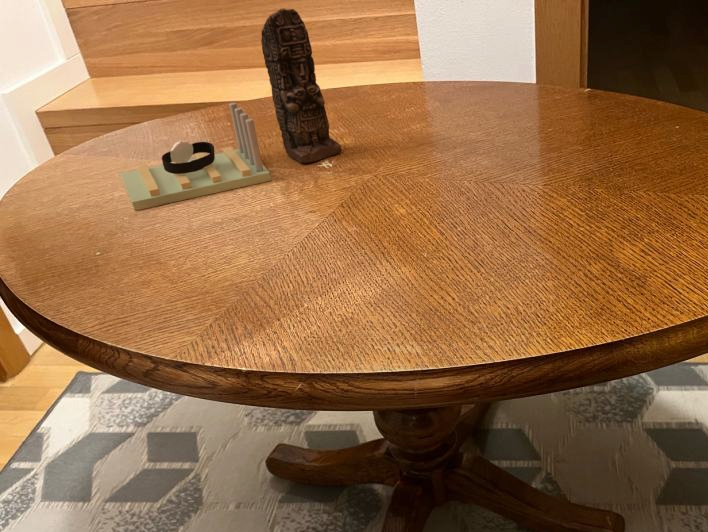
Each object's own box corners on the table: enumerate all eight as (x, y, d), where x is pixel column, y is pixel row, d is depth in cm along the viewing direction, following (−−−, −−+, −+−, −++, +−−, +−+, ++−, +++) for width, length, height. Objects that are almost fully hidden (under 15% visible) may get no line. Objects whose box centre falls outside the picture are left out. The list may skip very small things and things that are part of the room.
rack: (134, 210, 94) (115, 148, 89) (122, 181, 103) (103, 123, 98) (271, 180, 100) (259, 121, 96) (248, 155, 109) (237, 99, 105)
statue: (304, 166, 104) (278, 15, 93) (278, 154, 109) (250, 9, 98) (343, 153, 108) (323, 6, 97) (316, 143, 113) (294, 1, 101)
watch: (204, 155, 104) (198, 130, 102) (225, 161, 102) (219, 136, 99) (157, 173, 99) (150, 146, 97) (178, 179, 97) (171, 153, 95)
